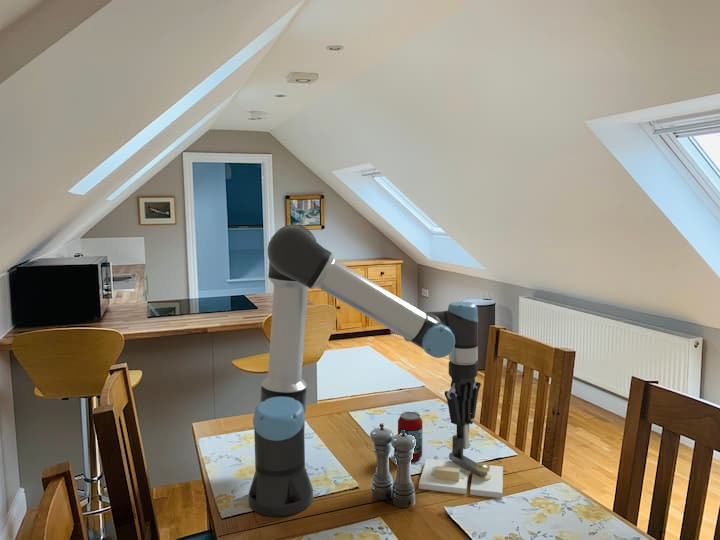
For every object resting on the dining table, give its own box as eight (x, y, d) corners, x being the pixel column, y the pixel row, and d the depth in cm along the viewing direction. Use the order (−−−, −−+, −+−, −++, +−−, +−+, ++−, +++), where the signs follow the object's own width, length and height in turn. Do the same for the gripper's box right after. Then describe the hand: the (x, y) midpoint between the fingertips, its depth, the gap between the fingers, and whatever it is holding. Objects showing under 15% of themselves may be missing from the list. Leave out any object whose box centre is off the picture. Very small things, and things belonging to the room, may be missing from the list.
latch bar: (492, 476, 144) (493, 451, 143) (481, 480, 142) (482, 454, 142) (457, 456, 156) (458, 433, 155) (447, 459, 154) (447, 435, 153)
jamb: (502, 498, 137) (502, 491, 137) (470, 494, 139) (470, 487, 139) (502, 471, 151) (503, 465, 150) (473, 468, 152) (473, 462, 152)
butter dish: (466, 494, 139) (466, 479, 139) (418, 488, 142) (418, 473, 142) (469, 468, 153) (470, 454, 152) (426, 463, 155) (426, 450, 155)
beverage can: (402, 463, 155) (402, 421, 154) (394, 453, 162) (394, 412, 160) (426, 460, 157) (426, 418, 156) (417, 450, 164) (417, 409, 162)
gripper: (466, 353, 158) (466, 435, 161) (436, 363, 149) (436, 450, 152) (489, 358, 153) (488, 443, 155) (459, 369, 144) (459, 459, 147)
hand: (462, 446), depth 154 cm, fingers closed
